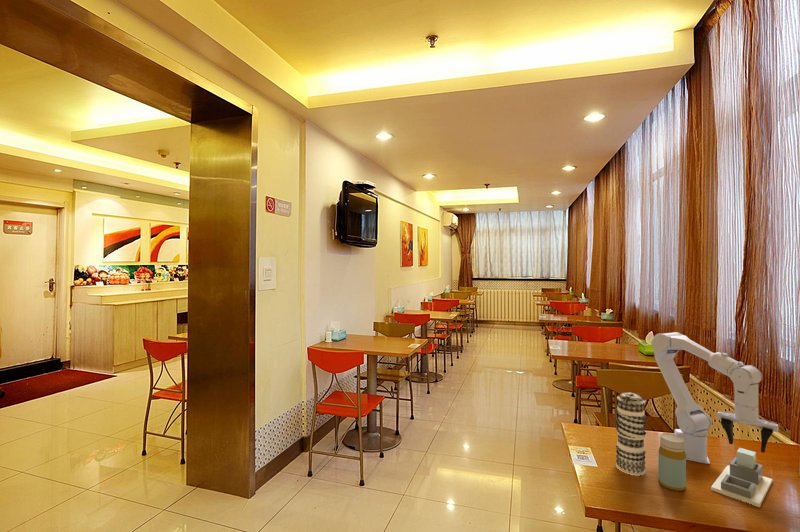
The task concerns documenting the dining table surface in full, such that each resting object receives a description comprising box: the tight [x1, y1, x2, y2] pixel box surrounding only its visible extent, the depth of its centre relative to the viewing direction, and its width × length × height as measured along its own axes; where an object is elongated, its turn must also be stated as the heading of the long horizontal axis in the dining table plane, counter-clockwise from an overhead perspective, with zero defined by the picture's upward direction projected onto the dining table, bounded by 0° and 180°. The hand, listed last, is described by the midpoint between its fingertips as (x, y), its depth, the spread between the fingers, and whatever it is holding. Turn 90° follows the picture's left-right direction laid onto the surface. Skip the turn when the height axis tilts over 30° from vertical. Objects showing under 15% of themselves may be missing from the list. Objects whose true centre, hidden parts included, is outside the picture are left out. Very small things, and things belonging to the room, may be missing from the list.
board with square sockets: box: [710, 456, 773, 508], centre depth 122 cm, size 20×11×5 cm, turn 129°
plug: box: [736, 447, 757, 470], centre depth 125 cm, size 5×4×6 cm
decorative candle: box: [614, 392, 648, 477], centre depth 132 cm, size 9×9×25 cm
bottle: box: [657, 432, 687, 492], centre depth 122 cm, size 7×7×15 cm
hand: (746, 447), depth 125 cm, fingers open, 7 cm apart
